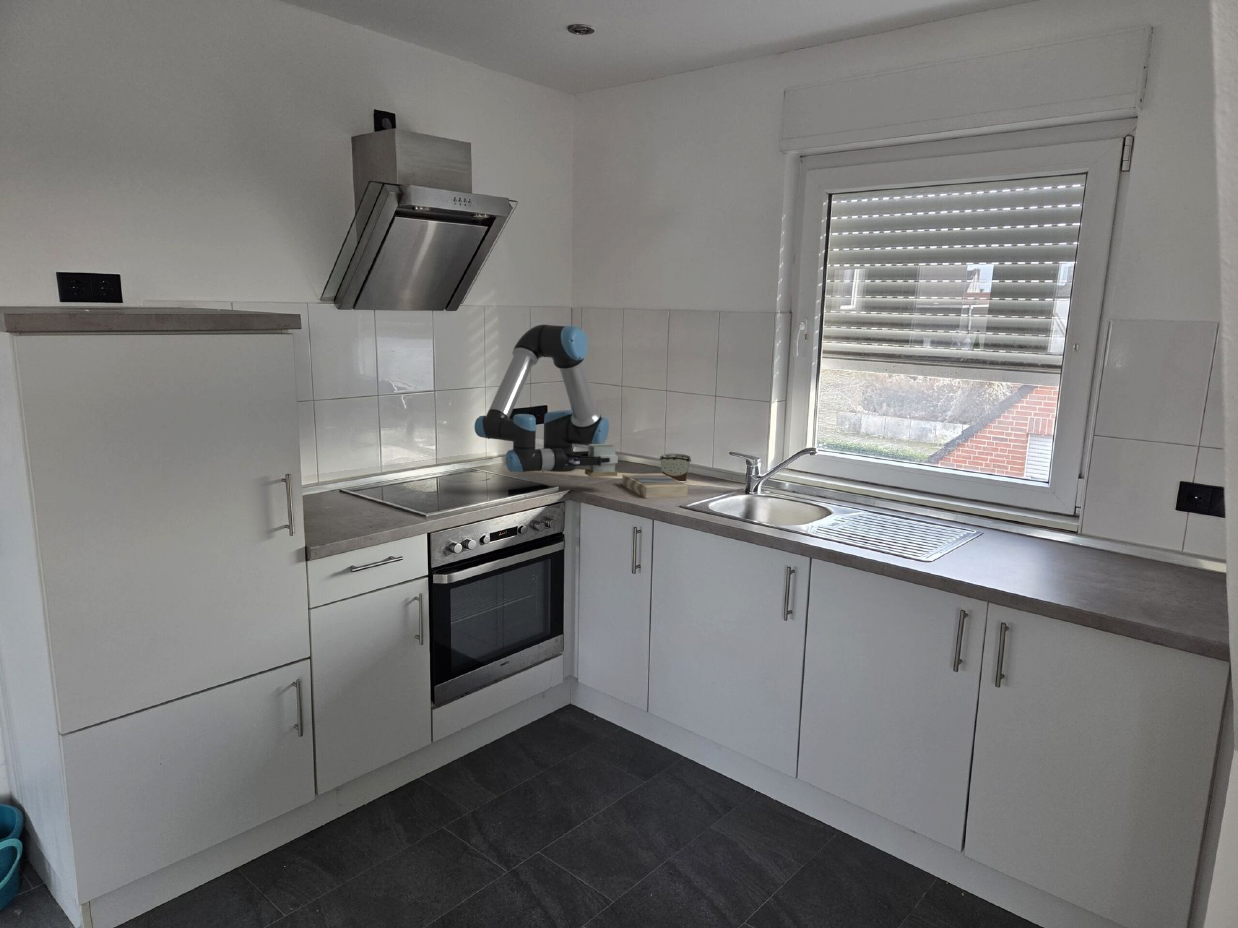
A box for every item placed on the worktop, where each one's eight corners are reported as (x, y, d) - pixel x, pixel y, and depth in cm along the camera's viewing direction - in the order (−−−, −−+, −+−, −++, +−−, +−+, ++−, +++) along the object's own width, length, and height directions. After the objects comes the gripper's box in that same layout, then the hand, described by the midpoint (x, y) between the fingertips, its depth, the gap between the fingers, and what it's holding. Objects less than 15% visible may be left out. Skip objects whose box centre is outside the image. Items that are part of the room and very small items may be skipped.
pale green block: (584, 473, 289) (585, 444, 287) (610, 472, 293) (612, 443, 291) (590, 477, 284) (591, 447, 282) (617, 475, 287) (618, 446, 285)
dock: (622, 484, 302) (622, 473, 301) (661, 483, 308) (661, 472, 307) (645, 498, 282) (646, 486, 281) (687, 496, 288) (687, 485, 288)
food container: (690, 479, 318) (691, 454, 316) (690, 482, 312) (691, 457, 310) (658, 477, 319) (660, 452, 318) (658, 480, 313) (659, 455, 311)
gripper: (543, 464, 289) (603, 462, 298) (559, 476, 272) (623, 473, 281) (543, 444, 288) (604, 442, 297) (560, 454, 271) (624, 451, 279)
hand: (613, 457), depth 289 cm, fingers closed on pale green block, 6 cm apart
